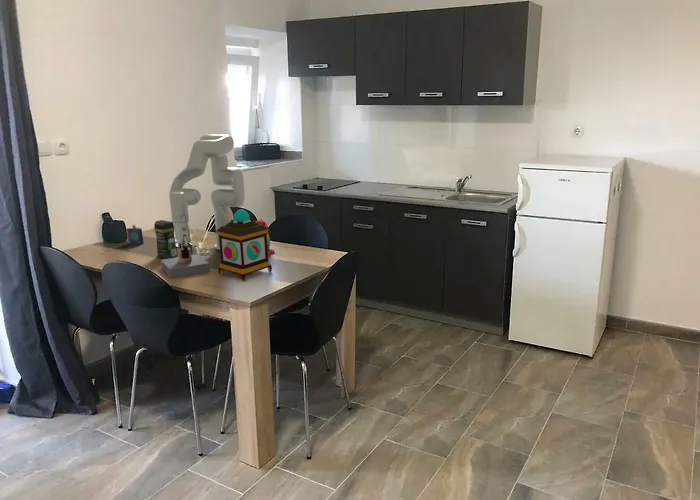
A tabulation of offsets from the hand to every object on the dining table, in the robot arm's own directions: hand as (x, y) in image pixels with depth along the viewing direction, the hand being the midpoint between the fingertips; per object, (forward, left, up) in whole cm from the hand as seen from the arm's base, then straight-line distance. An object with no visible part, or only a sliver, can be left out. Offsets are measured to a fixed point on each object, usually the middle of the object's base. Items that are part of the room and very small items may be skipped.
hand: (184, 256), depth 272 cm
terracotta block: (0, 0, -2) cm, 2 cm away
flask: (+11, -63, -7) cm, 64 cm away
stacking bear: (-40, -4, -7) cm, 41 cm away
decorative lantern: (-22, +21, -7) cm, 31 cm away
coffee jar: (+2, -28, -7) cm, 29 cm away
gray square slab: (0, 0, -7) cm, 7 cm away
